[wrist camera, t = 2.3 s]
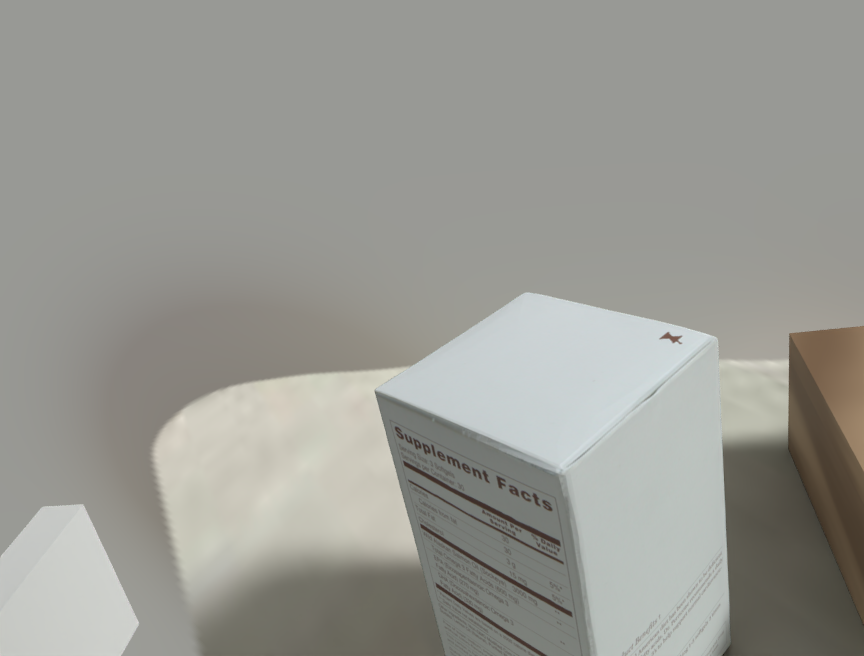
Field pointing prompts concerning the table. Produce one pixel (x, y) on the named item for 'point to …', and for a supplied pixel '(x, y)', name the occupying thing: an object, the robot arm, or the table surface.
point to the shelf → (831, 440)
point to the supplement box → (567, 484)
